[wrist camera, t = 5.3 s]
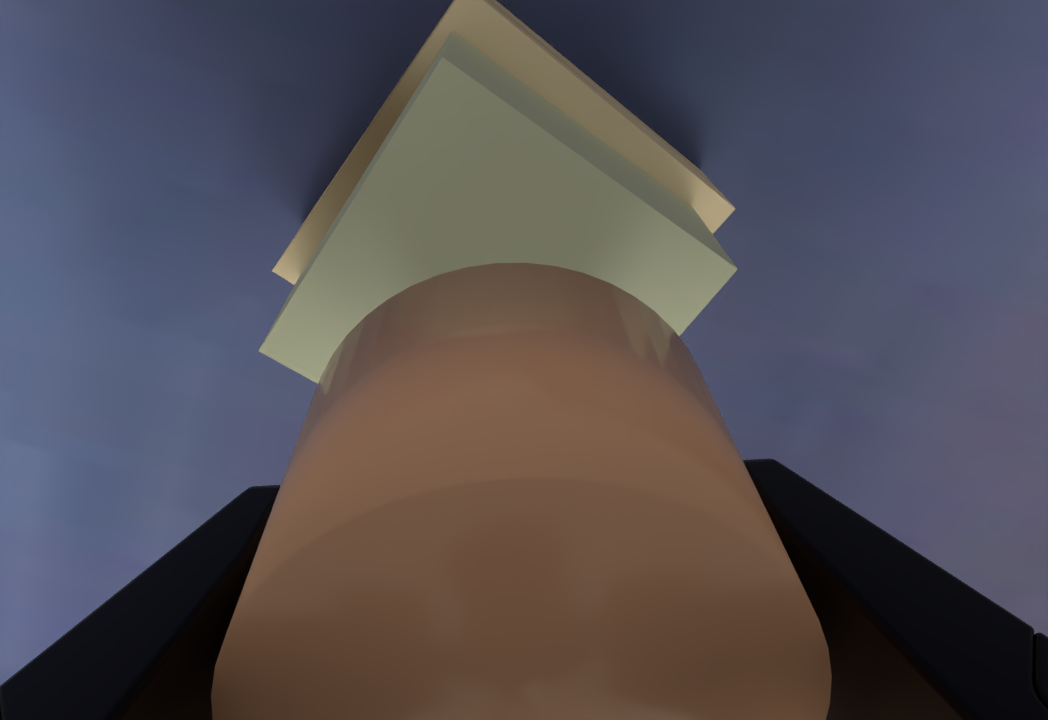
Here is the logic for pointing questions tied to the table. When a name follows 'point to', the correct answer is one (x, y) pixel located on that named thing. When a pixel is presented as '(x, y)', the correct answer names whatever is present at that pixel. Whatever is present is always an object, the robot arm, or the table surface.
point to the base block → (545, 75)
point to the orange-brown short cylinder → (519, 527)
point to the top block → (493, 211)
